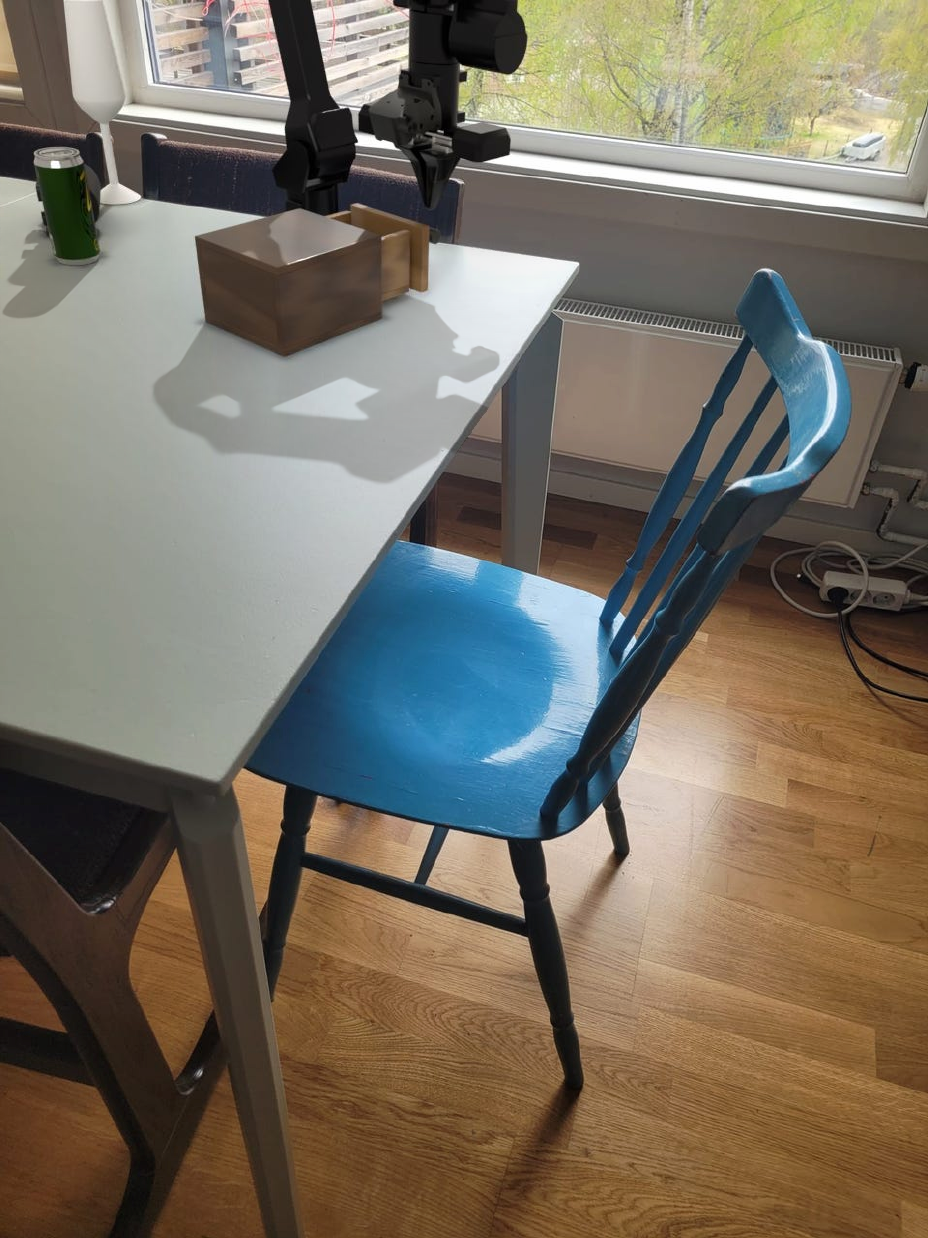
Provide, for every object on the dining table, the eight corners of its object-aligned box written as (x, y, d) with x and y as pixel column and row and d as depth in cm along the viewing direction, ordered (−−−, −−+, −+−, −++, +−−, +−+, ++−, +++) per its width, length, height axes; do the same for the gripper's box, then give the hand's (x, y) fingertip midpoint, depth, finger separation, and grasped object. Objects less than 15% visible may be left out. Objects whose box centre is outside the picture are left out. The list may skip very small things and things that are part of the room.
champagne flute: (124, 206, 134) (90, 3, 118) (82, 200, 135) (43, -2, 120) (150, 194, 139) (121, -3, 123) (109, 188, 140) (75, -8, 125)
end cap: (104, 236, 124) (94, 180, 120) (46, 238, 122) (33, 181, 118) (105, 212, 131) (95, 159, 127) (50, 214, 129) (38, 160, 125)
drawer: (384, 256, 121) (383, 195, 116) (453, 280, 115) (456, 217, 111) (274, 292, 109) (269, 226, 105) (346, 321, 104) (344, 252, 99)
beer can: (62, 268, 114) (38, 160, 107) (49, 254, 118) (26, 148, 110) (107, 262, 117) (87, 155, 109) (93, 248, 120) (73, 144, 112)
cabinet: (304, 288, 113) (299, 207, 108) (382, 318, 107) (381, 235, 102) (205, 321, 104) (194, 235, 99) (284, 356, 98) (277, 267, 93)
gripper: (321, 53, 105) (326, 203, 114) (452, 82, 96) (445, 242, 106) (391, 44, 111) (390, 186, 121) (519, 70, 103) (507, 221, 113)
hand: (430, 208), depth 115 cm, fingers closed
